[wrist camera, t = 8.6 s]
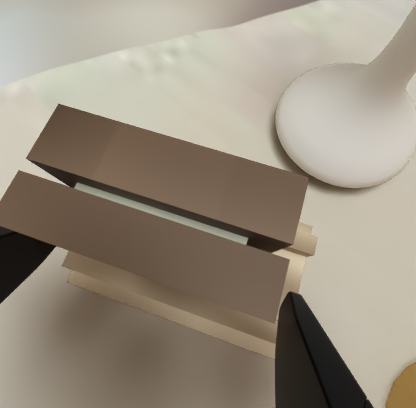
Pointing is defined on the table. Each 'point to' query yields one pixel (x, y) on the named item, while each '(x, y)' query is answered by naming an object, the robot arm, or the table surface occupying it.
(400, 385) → the decorative plaque
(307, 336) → the robot arm
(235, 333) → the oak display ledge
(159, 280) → the walnut photo frame
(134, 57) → the table surface
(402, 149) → the flower in vase
